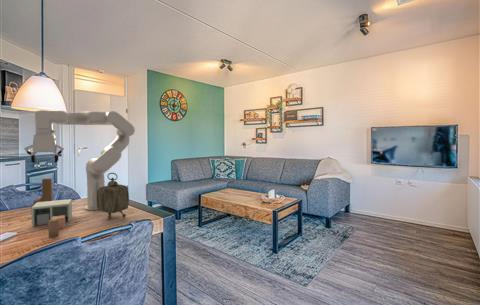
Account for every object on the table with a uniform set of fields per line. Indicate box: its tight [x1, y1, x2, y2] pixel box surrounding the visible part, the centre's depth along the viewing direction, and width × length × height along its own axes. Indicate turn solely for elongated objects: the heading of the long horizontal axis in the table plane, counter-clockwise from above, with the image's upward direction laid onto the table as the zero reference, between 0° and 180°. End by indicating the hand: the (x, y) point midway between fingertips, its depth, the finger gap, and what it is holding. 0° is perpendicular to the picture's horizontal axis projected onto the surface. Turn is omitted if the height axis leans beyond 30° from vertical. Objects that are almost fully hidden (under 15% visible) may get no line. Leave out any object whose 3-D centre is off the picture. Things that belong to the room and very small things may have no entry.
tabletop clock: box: [97, 172, 130, 220], centre depth 132 cm, size 14×9×25 cm, turn 71°
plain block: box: [36, 212, 50, 226], centre depth 124 cm, size 5×5×5 cm
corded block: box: [47, 215, 66, 239], centre depth 112 cm, size 5×17×7 cm, turn 30°
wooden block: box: [33, 177, 54, 206], centre depth 156 cm, size 9×4×18 cm, turn 120°
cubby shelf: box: [31, 198, 73, 228], centre depth 127 cm, size 15×12×10 cm
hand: (45, 162), depth 134 cm, fingers open, 9 cm apart
